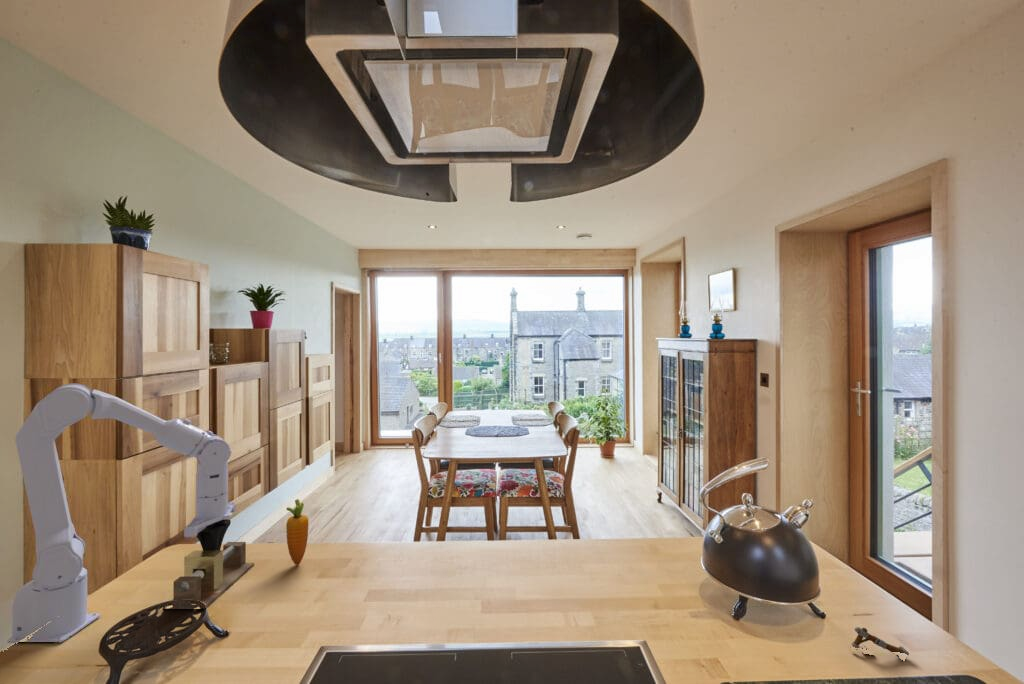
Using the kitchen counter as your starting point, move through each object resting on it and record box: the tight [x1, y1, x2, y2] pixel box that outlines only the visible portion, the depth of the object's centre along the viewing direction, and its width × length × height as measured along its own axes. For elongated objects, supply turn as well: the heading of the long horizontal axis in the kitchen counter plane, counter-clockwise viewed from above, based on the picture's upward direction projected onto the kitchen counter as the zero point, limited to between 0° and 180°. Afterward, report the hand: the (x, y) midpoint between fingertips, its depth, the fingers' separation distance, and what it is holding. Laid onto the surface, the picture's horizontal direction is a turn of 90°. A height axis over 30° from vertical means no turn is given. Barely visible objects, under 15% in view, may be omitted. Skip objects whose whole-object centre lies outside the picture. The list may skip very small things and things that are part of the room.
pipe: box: [179, 546, 236, 592], centre depth 99 cm, size 18×2×2 cm, turn 1°
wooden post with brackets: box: [851, 626, 910, 656], centre depth 78 cm, size 2×8×4 cm, turn 80°
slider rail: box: [170, 541, 255, 608], centre depth 99 cm, size 18×8×6 cm, turn 1°
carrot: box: [285, 499, 309, 566], centre depth 109 cm, size 5×5×15 cm
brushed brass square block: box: [183, 549, 223, 590], centre depth 96 cm, size 3×6×7 cm, turn 91°
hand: (211, 557), depth 99 cm, fingers closed
